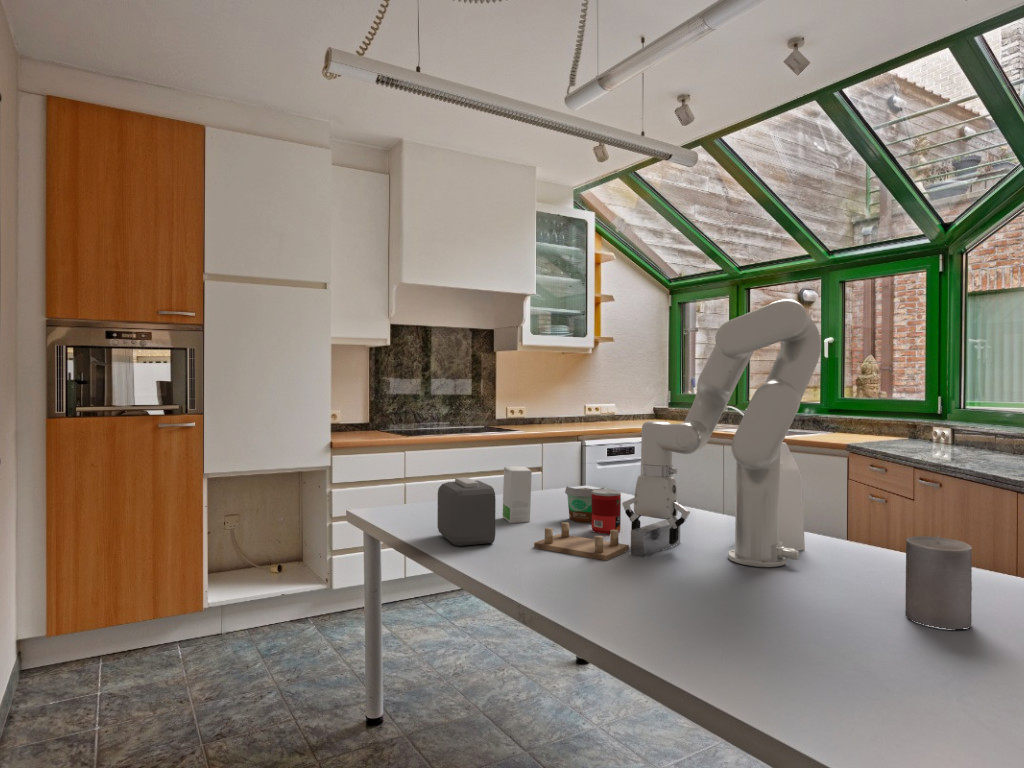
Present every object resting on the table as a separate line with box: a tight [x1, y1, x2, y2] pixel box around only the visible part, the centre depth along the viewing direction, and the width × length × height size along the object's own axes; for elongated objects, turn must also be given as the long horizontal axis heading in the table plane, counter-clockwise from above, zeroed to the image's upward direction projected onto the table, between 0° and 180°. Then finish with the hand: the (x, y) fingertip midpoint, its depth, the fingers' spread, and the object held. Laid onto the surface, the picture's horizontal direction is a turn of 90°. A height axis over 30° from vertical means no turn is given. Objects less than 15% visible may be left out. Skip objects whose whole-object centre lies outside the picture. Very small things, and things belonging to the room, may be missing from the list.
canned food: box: [591, 488, 622, 535], centre depth 180 cm, size 8×8×11 cm
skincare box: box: [502, 465, 533, 524], centre depth 194 cm, size 8×7×16 cm
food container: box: [564, 485, 605, 524], centre depth 192 cm, size 12×6×10 cm, turn 73°
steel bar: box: [630, 519, 681, 558], centre depth 161 cm, size 18×4×6 cm, turn 138°
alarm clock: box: [437, 476, 497, 547], centre depth 169 cm, size 16×11×16 cm
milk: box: [779, 442, 806, 551], centre depth 167 cm, size 12×12×26 cm
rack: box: [533, 521, 630, 562], centre depth 161 cm, size 20×12×5 cm, turn 55°
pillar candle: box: [904, 534, 973, 629], centre depth 113 cm, size 10×10×15 cm
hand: (654, 540), depth 161 cm, fingers open, 9 cm apart
